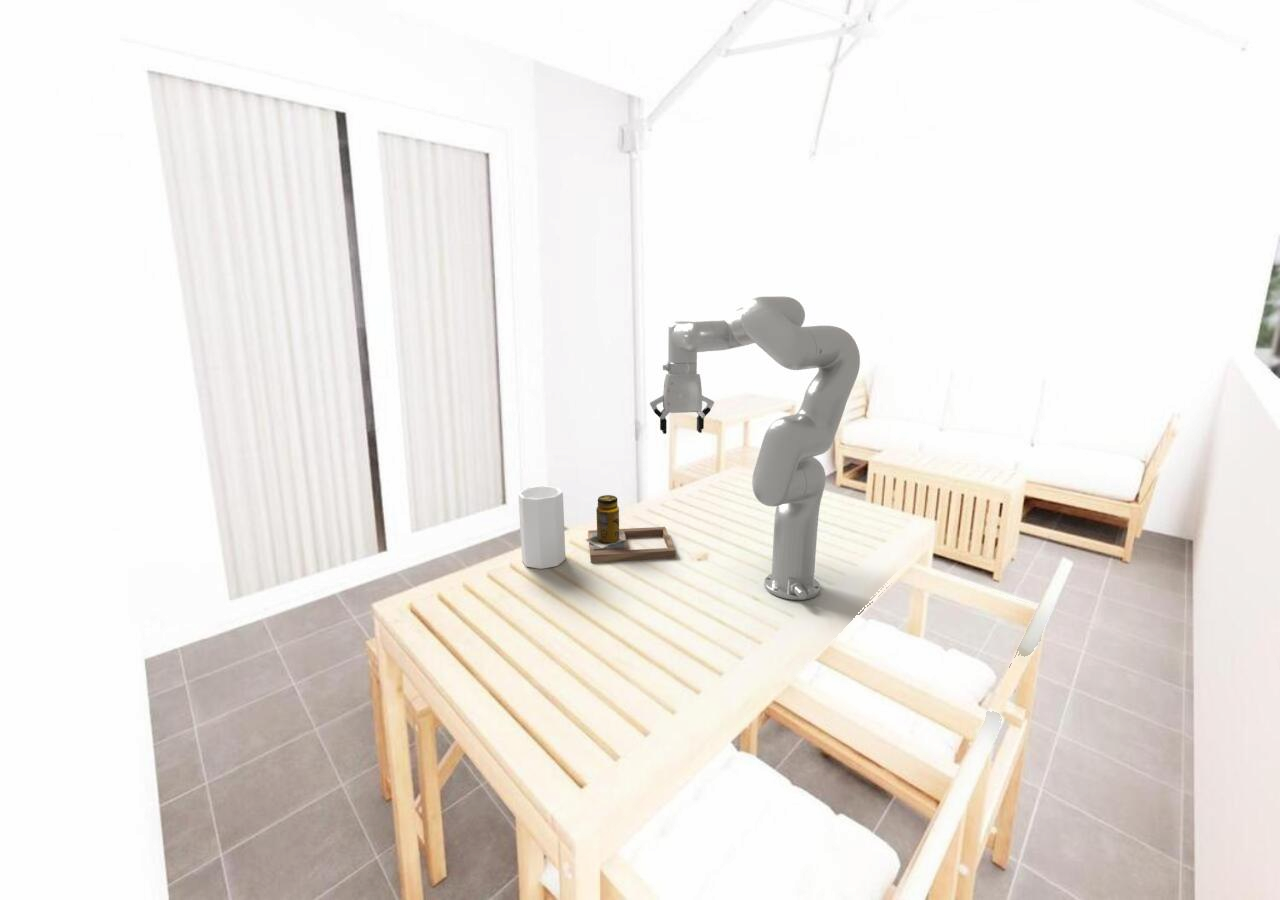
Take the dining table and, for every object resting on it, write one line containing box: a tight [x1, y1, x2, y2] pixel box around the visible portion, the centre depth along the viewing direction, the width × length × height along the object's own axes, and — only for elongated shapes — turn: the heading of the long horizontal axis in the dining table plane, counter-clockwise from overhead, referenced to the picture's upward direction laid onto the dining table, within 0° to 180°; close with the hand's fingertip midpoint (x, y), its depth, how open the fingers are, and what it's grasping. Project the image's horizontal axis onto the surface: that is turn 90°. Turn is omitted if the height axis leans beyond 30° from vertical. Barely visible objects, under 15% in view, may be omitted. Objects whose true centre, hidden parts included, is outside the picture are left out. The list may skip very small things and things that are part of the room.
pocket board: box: [587, 526, 676, 563], centre depth 163 cm, size 17×22×2 cm
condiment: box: [585, 494, 627, 548], centre depth 160 cm, size 7×8×12 cm
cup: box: [517, 485, 566, 570], centre depth 153 cm, size 11×11×18 cm
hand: (681, 432), depth 162 cm, fingers open, 9 cm apart
